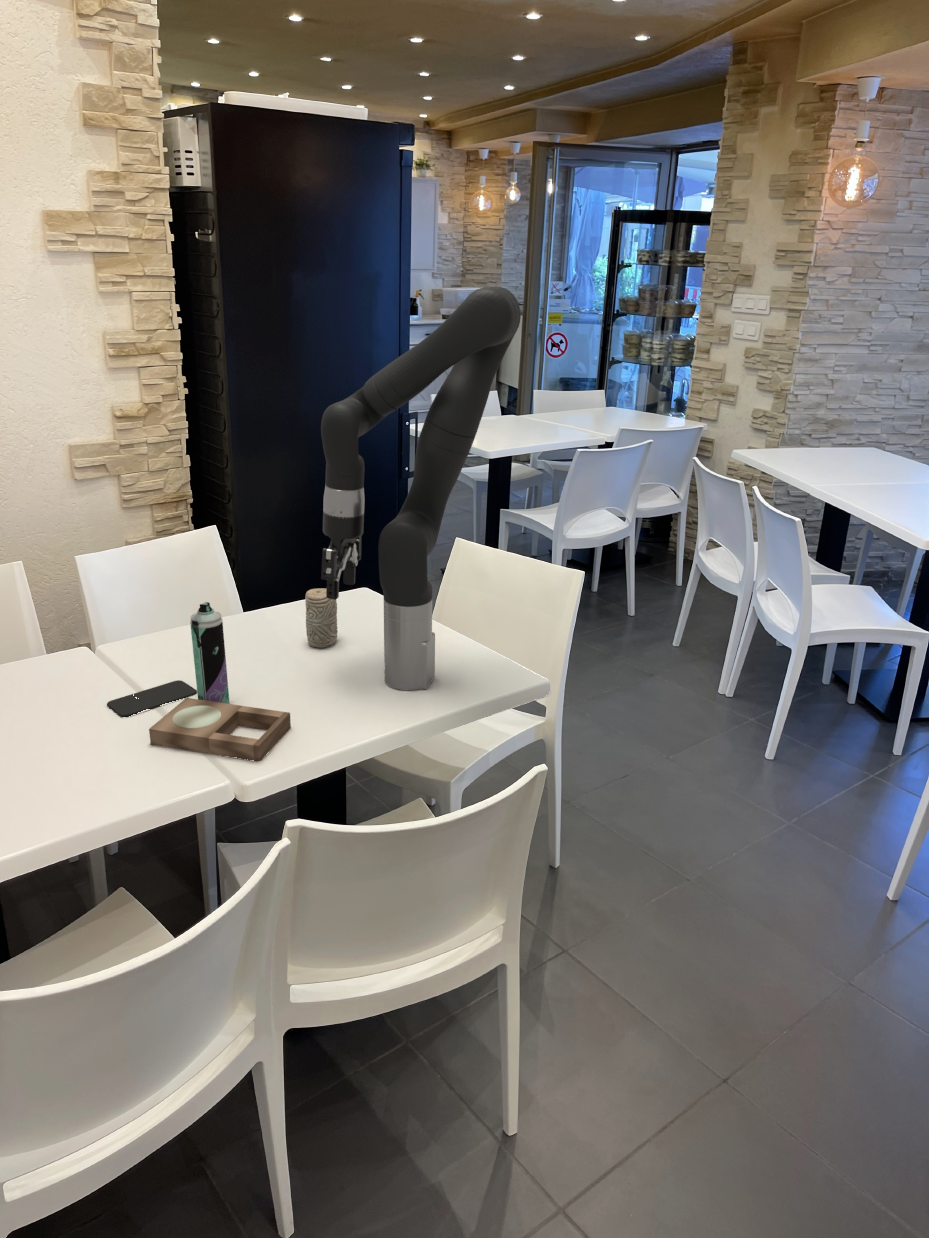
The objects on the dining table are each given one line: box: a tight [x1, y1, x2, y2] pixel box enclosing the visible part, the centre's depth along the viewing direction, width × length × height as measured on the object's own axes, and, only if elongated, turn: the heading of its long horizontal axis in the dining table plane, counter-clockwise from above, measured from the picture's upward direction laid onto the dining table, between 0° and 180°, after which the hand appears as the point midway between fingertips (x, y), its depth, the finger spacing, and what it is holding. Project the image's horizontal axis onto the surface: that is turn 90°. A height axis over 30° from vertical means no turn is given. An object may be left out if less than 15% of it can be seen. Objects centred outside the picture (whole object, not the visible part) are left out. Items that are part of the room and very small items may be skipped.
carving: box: [304, 587, 338, 649], centre depth 190 cm, size 6×8×12 cm
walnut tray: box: [148, 697, 292, 762], centre depth 154 cm, size 20×12×3 cm, turn 76°
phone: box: [106, 680, 198, 718], centre depth 167 cm, size 7×1×15 cm
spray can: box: [189, 601, 230, 704], centre depth 161 cm, size 6×6×20 cm
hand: (341, 591), depth 173 cm, fingers open, 8 cm apart
